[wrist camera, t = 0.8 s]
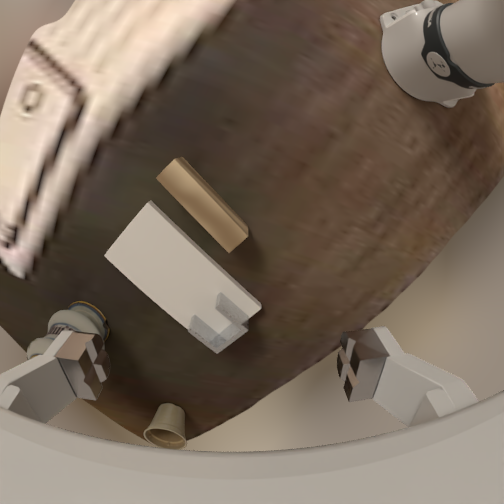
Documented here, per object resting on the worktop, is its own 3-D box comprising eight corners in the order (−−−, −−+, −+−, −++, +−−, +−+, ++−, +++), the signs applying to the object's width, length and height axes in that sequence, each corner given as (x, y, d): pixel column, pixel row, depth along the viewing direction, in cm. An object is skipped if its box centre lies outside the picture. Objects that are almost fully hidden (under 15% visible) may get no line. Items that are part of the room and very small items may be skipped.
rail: (182, 156, 40) (174, 159, 36) (248, 225, 44) (248, 236, 39) (165, 173, 41) (155, 178, 36) (230, 240, 45) (228, 253, 40)
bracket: (150, 200, 42) (138, 208, 37) (261, 303, 49) (262, 322, 44) (107, 252, 45) (93, 265, 40) (211, 342, 52) (208, 362, 46)
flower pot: (173, 426, 62) (167, 453, 54) (144, 405, 59) (135, 433, 51) (200, 414, 60) (196, 444, 52) (169, 393, 57) (161, 423, 49)
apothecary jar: (123, 345, 52) (91, 413, 35) (78, 347, 53) (41, 406, 36) (100, 292, 48) (51, 354, 31) (54, 298, 48) (4, 352, 32)
